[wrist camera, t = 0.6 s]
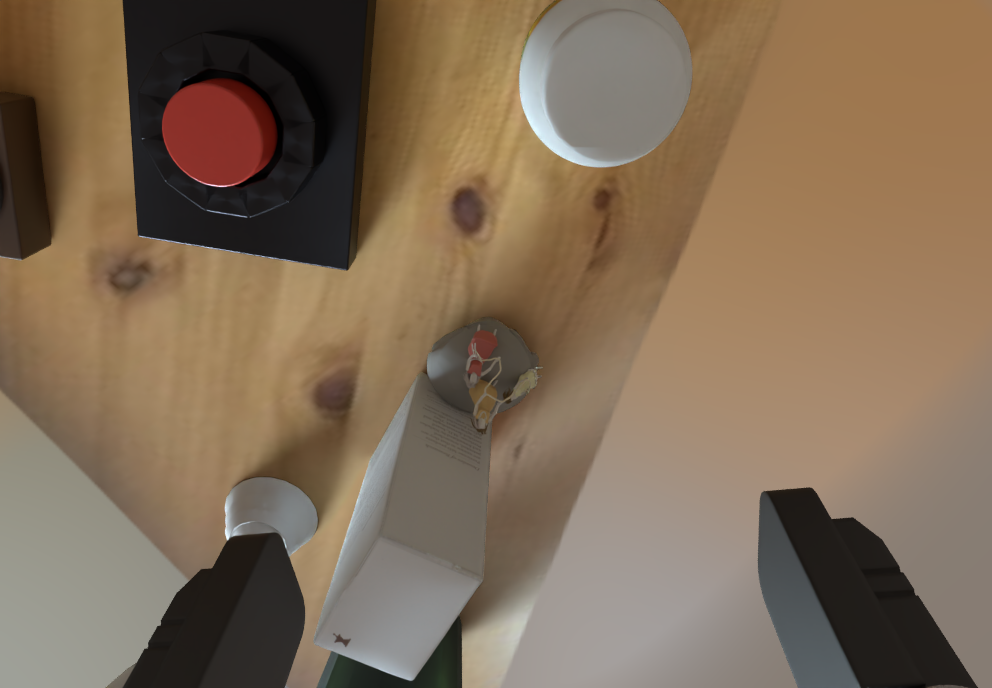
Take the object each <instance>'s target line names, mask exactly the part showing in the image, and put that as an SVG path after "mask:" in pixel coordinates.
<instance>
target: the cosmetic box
mask: <svg viewBox="0 0 992 688" xmlns="http://www.w3.org/2000/svg"><path fill="white" fill-rule="evenodd" d="M490 416H491V414H490ZM490 416H489V417H490ZM471 419H472V420H474V415H473V413H471V412H467V411H464V410H461V409H459V408H457V407H455V406H453V405H451V404H450V403H448V402H447V401H445V400H444V399H443V398H442V397H441V396H440V395H439V394H438V393H437V392H436V391H435V389H434V388H433V386H432V384H431V382H430V380H429V376H428V375H427V374H425V373H422V372H420V373H419V374H418V375H417V377H416V379H415V380H414V382H413V384H412V386H411V387H410V389H409V391H408V393H407V395H406V396H405V398H404V400H403V402H402V404H401V405H400V407H399V409H398V411H397V412H396V414H395V416H394V418H393V419H392V421H391V423H390V425H389V427H388V428H387V430H386V432H385V434H384V436H383V437H382V439H381V441H380V443H379V444H378V446H377V448H376V450H375V452H374V453H373V455H372V457H371V459H370V462H369V465H368V468H367V472H366V475H365V478H364V481H363V484H362V487H361V490H360V493H359V497H358V500H357V503H356V506H355V509H354V513H353V516H352V519H351V522H350V525H349V529H348V532H347V535H346V538H345V541H344V544H343V547H342V550H341V553H340V556H339V560H338V563H337V566H336V569H335V573H334V576H333V579H332V582H331V585H330V588H329V591H328V594H327V597H326V600H325V603H324V606H323V609H322V613H321V616H320V619H319V622H318V626H317V629H316V633H315V636H314V644H315V645H318V646H320V647H323V648H325V649H328V650H330V651H333V652H336V653H338V654H341V655H343V656H346V657H349V658H351V659H354V660H356V661H359V662H361V663H364V664H366V665H369V666H371V667H374V668H376V669H379V670H381V671H384V672H387V673H389V674H392V675H395V676H397V677H400V678H403V679H406V680H410V681H412V680H414V679H415V677H416V676H417V674H418V673H419V672H420V670H421V669H422V667H423V666H424V665H425V663H426V662H427V660H428V659H429V657H430V656H431V655H432V653H433V652H434V650H435V649H436V647H437V646H438V645H439V643H440V642H441V640H442V639H443V637H444V636H445V634H446V633H447V631H448V630H449V628H450V627H451V625H452V624H453V622H454V621H455V620H456V618H457V617H458V615H459V614H460V612H461V611H462V609H463V608H464V606H465V605H466V604H467V602H468V601H469V599H470V598H471V596H472V595H473V594H474V592H475V591H476V589H477V588H478V587H479V585H480V584H481V583H482V581H483V571H484V553H485V535H486V519H487V503H488V486H489V469H490V451H491V433H492V421H491V422H490V423H489V424H488V427H487V430H486V432H487V433H486V432H485V433H486V434H484V433H483V435H481V432H480V433H479V432H477V430H476V429H475V428H474V427H473V425H472V422H473V421H472V422H471ZM473 424H474V423H473ZM486 425H487V423H486ZM485 428H486V427H485Z"/></svg>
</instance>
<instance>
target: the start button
mask: <svg viewBox="0 0 992 688" xmlns="http://www.w3.org/2000/svg"><path fill="white" fill-rule="evenodd" d="M162 131H163V138H164V142H165V145H166V147H167V150H168V152H169V154H170V155H171V157H172V159H173V160H174V161H175V163H176V164H177V165H178V166H179V167H180V168H181V169H182V170H183V171H184V172H185V173H186V174H187V175H189V176H190V177H192V178H193V179H195V180H197V181H199V182H201V183H204V184H207V185H211V186H216V187H228V186H234V185H237V184H239V183H241V182H243V181H245V180H247V179H248V178H250V177H251V176H253V175H254V174H256V173H257V172H259V171H260V170H262V169H263V168H264V167H265V166H266V165H267V164H268V163H269V162H270V160H271V159H272V157H273V155H274V153H275V150H276V146H277V138H278V135H277V126H276V122H275V118H274V116H273V113H272V111H271V109H270V108H269V106H268V104H267V103H266V102H265V100H264V99H263V98H262V97H261V96H260V95H259V94H258V93H257V92H256V91H255V90H254V89H252V88H251V87H249V86H248V85H246V84H244V83H242V82H239V81H237V80H233V79H228V78H215V79H210V80H206V81H202V82H199V83H195V84H191V85H188V86H186V87H184V88H182V89H180V90H179V91H178V92H176V93H175V94H174V95H173V97H172V98H171V99H170V101H169V102H168V104H167V106H166V108H165V111H164V114H163V120H162Z"/></svg>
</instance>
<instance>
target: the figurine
mask: <svg viewBox="0 0 992 688" xmlns="http://www.w3.org/2000/svg"><path fill="white" fill-rule="evenodd" d="M538 363H539V358H538V356H537V354H536V353H534V352H530V351H529V349H528V347H527V346H526V344H525V342H524V340H523V339H522V337H521V336H520V335H519V334H518V332H517V331H516V330H514V329H511V328H508V327H507V326H505V325H504V324H502V323H501V322H500V321H498V320H497V319H495V318H492V317H483V318H480V319H477V320H475V321H474V322H472V323H470V324H468V325H466V326H465V327H463V328H459V329H457V330H455V331H453V332H451V333H449V334H447V335H445V336H444V337H442V338H441V339H440V340H438V341H437V342H436V343H435V344H433V347H432V352H430V353H429V354H428V358H427V372H428V376H429V380H430V382H431V384H432V386H433V388H434V389H435V391H436V392H437V393H438V394H439V395H440V396H441V397H442V398H443V399H444V400H445V401H447V402H448V403H450V404H451V405H453V406H455V407H457V408H459V409H461V410H464V411H467V412H471V413H473V415H474V420H472V419H471V422H472V421H473V422H472V425H473V427H474V428H475V429H476V430H477V432H479V433H480V432H481V435H483V433H484V434H486V433H487V432H486V430H487V427H488V424H489V423H490V422H491V421H492V419H493V418H494V416H495V415H496V413H500V412H503V411H505V410H507V409H509V408H511V407H513V406H515V405H516V404H518V403H519V402H520V401H521V400H522V399H523V398H524V397H525V396H526V394H528V393H529V392H530V389H531V388H533V387H534V388H535V386H536V385H537V379H538V378H541V377H542V376H541V375H537V369H542V368H543V367H537V365H538ZM534 388H533V389H534ZM490 414H491V416H490ZM489 416H490V417H489ZM473 423H474V424H473ZM486 423H487V425H486ZM485 427H486V428H485ZM485 432H486V433H485Z"/></svg>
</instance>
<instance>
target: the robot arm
mask: <svg viewBox="0 0 992 688" xmlns="http://www.w3.org/2000/svg"><path fill="white" fill-rule="evenodd" d="M759 514H760V515H759V542H758V544H759V545H758V573H759V580H760V585H761V590H762V594H763V598H764V601H765V604H766V607H767V609H768V612H769V614H770V617H771V619H772V622H773V625H774V627H775V630H776V632H777V635H778V637H779V640H780V642H781V645H782V648H783V650H784V653H785V655H786V658H787V661H788V663H789V665H790V668H791V671H792V673H793V676H794V678H795V681H796V683H797V686H798V688H978V687H977V686H976V684H975V683H974V681H973V680H972V678H971V677H970V675H969V674H968V672H967V671H966V669H965V668H964V666H963V664H962V663H961V662H960V660H959V658H958V657H957V655H956V654H955V652H954V650H953V649H952V648H951V646H950V644H949V643H948V641H947V640H946V638H945V637H944V635H943V633H942V632H941V630H940V629H939V627H938V626H937V624H936V623H935V621H934V619H933V618H932V616H931V615H930V613H929V612H928V610H927V609H926V607H925V606H924V604H923V602H922V601H921V599H920V598H919V596H916V595H915V593H914V588H913V587H912V585H911V584H910V582H909V581H908V579H907V578H906V576H905V575H904V573H902V572H900V567H899V565H898V564H897V562H896V561H895V559H894V558H893V556H892V554H891V553H890V551H889V550H888V548H887V547H886V545H885V544H884V542H883V540H882V539H880V538H879V537H878V536H876V535H875V534H874V533H873V532H871V531H870V530H869V529H867V528H866V527H865V526H863V525H862V524H861V523H860V522H858V521H857V520H856V519H854V518H842V519H841V518H840V519H831V517H830V516H829V514H828V512H827V511H826V509H825V507H824V505H823V504H822V502H821V500H820V498H819V497H818V495H817V493H816V492H815V491H814V490H813V489H812V488H798V489H786V490H774V491H764V492H762V493H761V497H760V510H759ZM304 624H305V605H304V599H303V595H302V592H301V589H300V587H299V584H298V581H297V578H296V575H295V572H294V570H293V567H292V564H291V561H290V558H289V555H288V553H287V550H286V547H285V544H284V541H283V539H282V537H281V536H280V535H279V534H278V533H277V532H270V533H259V534H247V535H235V536H232V537H230V538H229V539H228V541H227V542H226V544H225V546H224V547H223V549H222V551H221V553H220V555H219V557H218V559H217V561H216V562H215V564H214V566H213V568H211V569H201V570H200V571H199V572H198V573H197V574H196V575H195V576H194V577H193V578H192V579H191V580H190V581H189V582H188V583H187V584H186V585H185V586H184V587H183V588H182V589H181V590H180V591H179V592H177V594H176V595H175V597H174V599H173V600H172V602H171V604H170V606H169V607H168V609H167V611H166V613H165V614H164V616H163V618H162V620H161V626H158V627H157V628H156V630H155V632H154V634H153V635H152V637H151V639H150V640H149V642H148V649H144V651H143V653H142V654H141V656H140V658H139V660H138V662H137V663H136V665H135V667H134V668H133V670H132V672H131V674H130V675H129V677H128V679H127V681H126V682H125V684H124V686H123V688H285V685H286V682H287V679H288V676H289V673H290V670H291V667H292V664H293V661H294V658H295V655H296V652H297V649H298V646H299V644H300V641H301V638H302V634H303V630H304Z"/></svg>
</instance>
